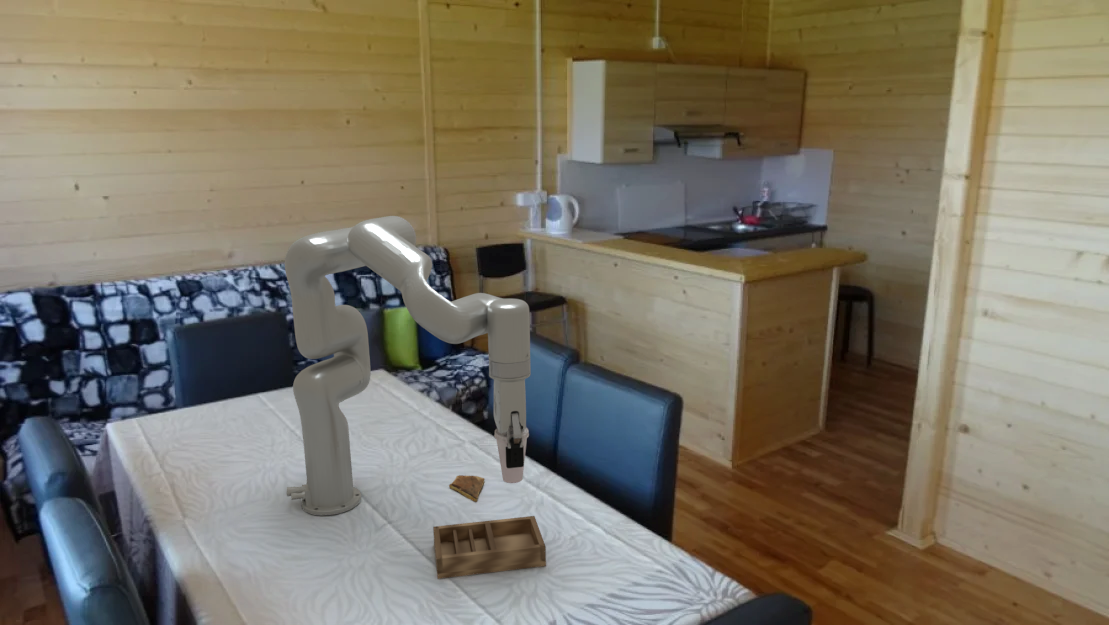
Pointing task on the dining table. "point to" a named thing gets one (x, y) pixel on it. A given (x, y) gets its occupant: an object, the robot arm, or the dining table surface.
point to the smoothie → (507, 473)
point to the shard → (468, 486)
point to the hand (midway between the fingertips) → (512, 458)
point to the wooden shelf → (488, 547)
